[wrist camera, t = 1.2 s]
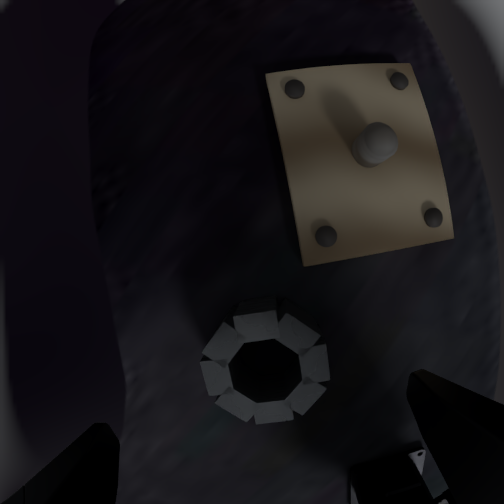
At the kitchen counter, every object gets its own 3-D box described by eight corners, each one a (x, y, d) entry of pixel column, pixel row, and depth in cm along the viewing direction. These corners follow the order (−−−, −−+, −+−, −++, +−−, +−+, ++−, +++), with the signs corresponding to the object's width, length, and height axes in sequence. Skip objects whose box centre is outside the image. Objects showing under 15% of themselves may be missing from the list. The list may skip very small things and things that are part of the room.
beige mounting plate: (445, 237, 18) (483, 240, 13) (302, 264, 19) (310, 275, 14) (404, 70, 17) (428, 39, 13) (266, 82, 18) (262, 45, 14)
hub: (325, 385, 19) (333, 413, 16) (226, 398, 20) (217, 427, 16) (312, 288, 19) (320, 302, 15) (205, 306, 20) (190, 322, 16)
